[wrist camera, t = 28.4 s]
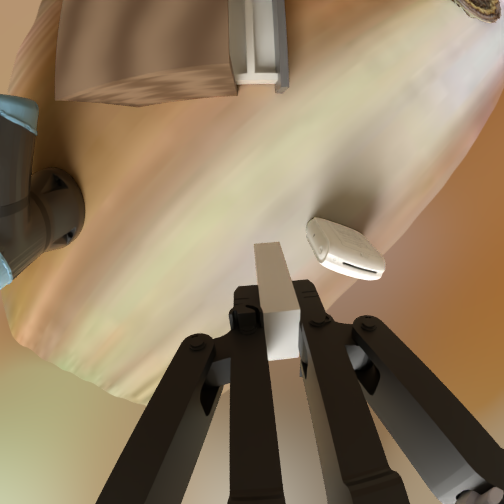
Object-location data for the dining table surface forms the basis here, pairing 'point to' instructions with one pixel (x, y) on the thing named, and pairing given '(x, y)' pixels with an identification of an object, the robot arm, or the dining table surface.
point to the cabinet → (143, 51)
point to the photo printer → (344, 250)
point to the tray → (259, 42)
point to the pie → (481, 9)
